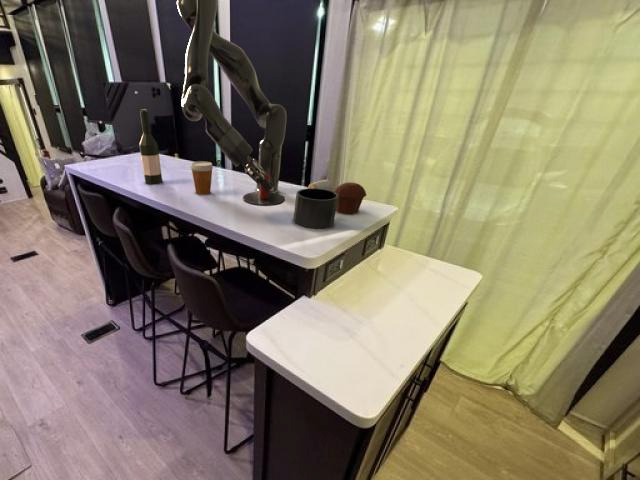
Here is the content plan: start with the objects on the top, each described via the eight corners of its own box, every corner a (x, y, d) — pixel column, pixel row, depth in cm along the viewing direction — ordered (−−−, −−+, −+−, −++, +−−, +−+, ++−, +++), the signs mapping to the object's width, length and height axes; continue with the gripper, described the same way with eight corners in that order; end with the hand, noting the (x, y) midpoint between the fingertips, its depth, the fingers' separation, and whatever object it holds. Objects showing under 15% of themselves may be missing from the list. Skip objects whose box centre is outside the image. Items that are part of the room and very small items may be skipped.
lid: (235, 198, 109) (235, 172, 104) (270, 192, 115) (271, 168, 110) (255, 210, 99) (257, 182, 94) (293, 204, 104) (296, 177, 99)
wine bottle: (160, 184, 146) (150, 110, 128) (142, 184, 146) (130, 110, 128) (164, 180, 152) (155, 108, 135) (147, 180, 152) (136, 108, 135)
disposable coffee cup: (211, 189, 141) (209, 160, 134) (216, 195, 133) (215, 165, 127) (190, 190, 138) (188, 161, 131) (194, 196, 131) (192, 166, 124)
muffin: (328, 212, 117) (333, 185, 111) (332, 204, 125) (337, 178, 119) (361, 217, 113) (368, 189, 107) (363, 208, 122) (369, 181, 116)
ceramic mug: (304, 198, 131) (307, 179, 126) (320, 196, 134) (323, 177, 129) (320, 206, 123) (323, 186, 119) (336, 203, 126) (340, 184, 122)
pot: (285, 219, 110) (288, 191, 104) (316, 214, 115) (320, 186, 110) (309, 233, 100) (314, 202, 95) (341, 226, 105) (347, 197, 100)
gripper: (229, 151, 106) (263, 190, 111) (222, 160, 94) (260, 202, 100) (245, 134, 102) (279, 175, 108) (240, 141, 91) (278, 186, 96)
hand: (270, 188), depth 104 cm, fingers closed on lid, 3 cm apart
